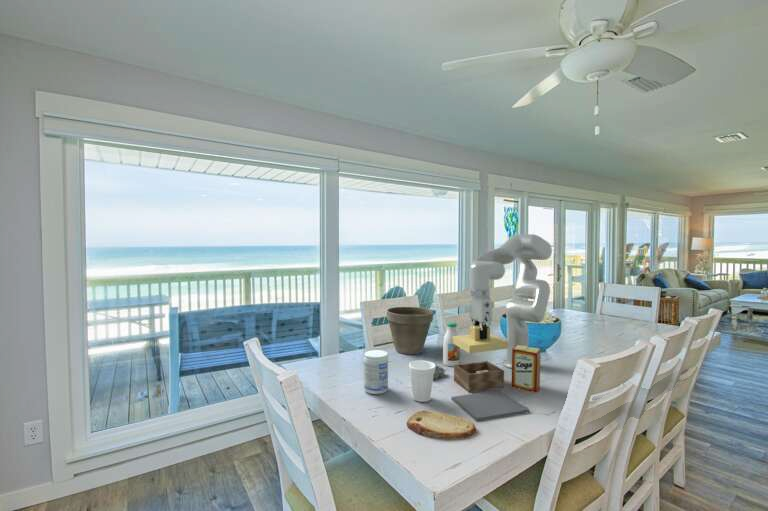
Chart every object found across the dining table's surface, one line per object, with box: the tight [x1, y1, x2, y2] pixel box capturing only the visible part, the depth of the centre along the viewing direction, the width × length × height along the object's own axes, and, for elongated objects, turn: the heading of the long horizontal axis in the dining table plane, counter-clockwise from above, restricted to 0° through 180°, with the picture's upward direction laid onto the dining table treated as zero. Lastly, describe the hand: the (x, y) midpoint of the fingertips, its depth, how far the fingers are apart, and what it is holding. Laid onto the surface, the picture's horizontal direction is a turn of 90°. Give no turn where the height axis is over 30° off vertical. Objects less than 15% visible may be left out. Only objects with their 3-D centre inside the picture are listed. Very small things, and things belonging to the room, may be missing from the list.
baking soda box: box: [511, 345, 542, 393], centre depth 147 cm, size 10×6×16 cm
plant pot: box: [386, 306, 434, 355], centre depth 195 cm, size 25×25×22 cm
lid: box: [453, 325, 508, 354], centre depth 150 cm, size 18×14×8 cm
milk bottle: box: [442, 321, 461, 367], centre depth 174 cm, size 8×8×20 cm
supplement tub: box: [363, 349, 389, 395], centre depth 143 cm, size 10×10×15 cm
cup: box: [408, 360, 436, 403], centre depth 135 cm, size 10×10×13 cm
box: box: [453, 360, 505, 393], centre depth 150 cm, size 16×12×7 cm
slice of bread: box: [406, 409, 478, 440], centre depth 115 cm, size 18×18×4 cm
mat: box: [451, 389, 530, 422], centre depth 131 cm, size 21×17×1 cm
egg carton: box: [433, 363, 447, 379], centre depth 159 cm, size 11×8×4 cm
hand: (480, 336), depth 150 cm, fingers closed on lid, 4 cm apart
